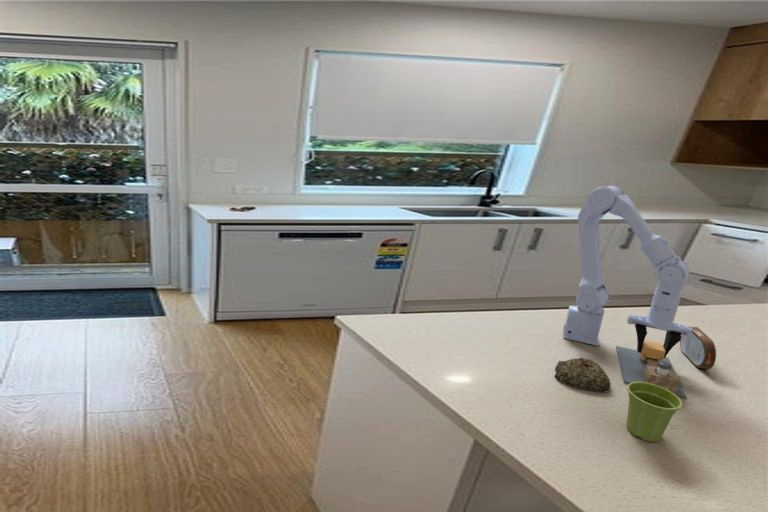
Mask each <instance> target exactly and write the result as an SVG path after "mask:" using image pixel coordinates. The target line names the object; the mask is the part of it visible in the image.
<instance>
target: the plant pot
mask: <svg viewBox="0 0 768 512" xmlns="http://www.w3.org/2000/svg"><path fill="white" fill-rule="evenodd" d="M626 390H627V393H628V398H629V399H628V400H629V401H628V409H627V421H626V429H628V431H629V432H630V433H631V434H632V435H633V436H635V437H639V438H641V439H642V440H644V441H646V442H652V443H653V442H654V443H655V442H659V441H660V440H661V439H662V438H663V436H664V434H665V432H666V430H667V427H669V424H670V422H671V420H672V418H673V416H674V415H675V414H676V413H677V411H678V410H681V408H682V407H683V402H682V399H680V397H677V396H676V395H675V394H674V393H672V392H670V391H669V390H667V389H665V388H662V387H660V386H657V385H654V384H650V383H646V382H632V383H630V384H627V386H626Z"/></svg>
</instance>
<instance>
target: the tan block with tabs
mask: <svg viewBox="0 0 768 512" xmlns="http://www.w3.org/2000/svg"><path fill="white" fill-rule="evenodd" d="M663 345H664V344H662V343H659V342H657V341H655V342H654V341H650V340H646V339H645V340H644V343H643V347H642V351H641V353H640V356H641V359H642V361H645V357H649V358H653V359H657V362H658V361H661V360H662V361H663V359H664V356H665V352H666V351H665V349H664V347H663Z"/></svg>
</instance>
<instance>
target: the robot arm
mask: <svg viewBox="0 0 768 512" xmlns="http://www.w3.org/2000/svg"><path fill="white" fill-rule="evenodd" d="M608 213H609V214H612V215H614V216H617V217H621V218H622V219H623V220H624V222H625V223H626V225H628V226H629V228H630V229H631V231H633V232H634V234H635V236H637V238H638V239H639V240H640V241H641V242H640V247H639V249H640V250H641V251H642V253H643V254H644V255H645V257H646V259H647V260H648V262H649V263H650V264H651V266H652V267H653V268H654V269H655V270H657V272H656V273H657V274H656V275H657V280H658V283H657V285H656V286H655V291H654V292H653V293H654V294H653V297H652V302H651V305H650V308H649V312H648V315H647V316H640V315H632V314H628V316H627V319H626V322H627V324H628V325H634V326H635V331H636V333H635V334H636V338H637V341H636V342H637V345H636V346H637V347H636V350H637V351H638V352H639V353H641V351H642V347H643V343H644V340H646V337H647V334H648V331H647V328H650V329H655V330H660V331H665V332H666V333H665V338H664V342H663V344H662V345H663V347H664V349H665V351H666V352H665V356H664V358H665V357H667V355H668V354H669V353H670V351H672V350H671V349H673V347H675V346H676V345H677V344H678V343H680V340H681V338H682V337H681V334H683V335H686V336H688V337H691V334H692V331H693V330H692V329H691V327H692V326H686V325H682V324H679V323H675V322H674V321H675V318H676V315H677V312H678V308H679V305H680V301H681V298H682V294H683V290H684V284H685V283H684V282H685V281H686V280H687V279H688V277H689V275H690V269H689V267H688V264H687V263H686V262H685V261H683V260H682V258H681V256H677V255H676V253H675V251H673V248H671V246H670V243H671V242H670V240H669V239H668V238H664V237H663V236H662V235H656V234H654V233H653V231H652V230H651V228H650V226H649V225H648V224H647V222H646V221H645V219H644V218H643V216H642V214H641V213H640V212H639V211H638V208H637V207H636V206H635V204H634V203H633V200H631V198H630V197H629V195H628V194H625V191H624V190H623V188H621V187H620V186H617V185H608V186H602V185H601V186H598V187H595V188H594V189H593V190H592V191H591V192H590V193H588V194H587V195H586V198H585V201H584V203H583V205H582V207H581V209H580V211H579V213H578V215H577V216H578V217H577V221H578V223H577V224H578V237H579V239H578V240H579V251H580V253H579V254H580V266H581V267H580V268H581V279H580V282H579V285H578V293H577V294H576V297H575V303H576V305H569V306H568V310H567V313H566V317H565V318H566V319H565V322H564V323H563V324H564V325H563V328H562V329H563V338H564V339H567V340H571V341H575V342H580V343H583V344H584V343H585V344H588V345H592V346H597V347H598V346H600V345H601V343H600V339H599V334H600V331H601V327H602V323H603V318H604V313H605V309H604V305H607V304H608V302H609V301H610V297H611V295H610V292H609V290H608V287H607V285H606V280H605V278H604V276H603V272H602V271H603V270H602V255H601V238H600V223H599V222H600V220H601V219H603V218H604V217H605V215H607V214H608Z"/></svg>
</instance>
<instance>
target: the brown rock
mask: <svg viewBox="0 0 768 512" xmlns="http://www.w3.org/2000/svg"><path fill="white" fill-rule="evenodd" d="M554 371H555V374H554V378H555V379H556V380H557V381H558V382H560V383H561V384H564V385H567V386H570V387H574V388H578V389H582V390H586V391H594V392H600V393H608V392H609V391H610V389H611V382H610V378H609V376H608V374H607V373H606V372H605V370H604V369H603V367H602V366H600V364H598V363H597V362H596V361H594V360H592V359H589V358H584V357H579V358H571V359H567V360H558V362H557V363H556V365H555V368H554Z"/></svg>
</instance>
